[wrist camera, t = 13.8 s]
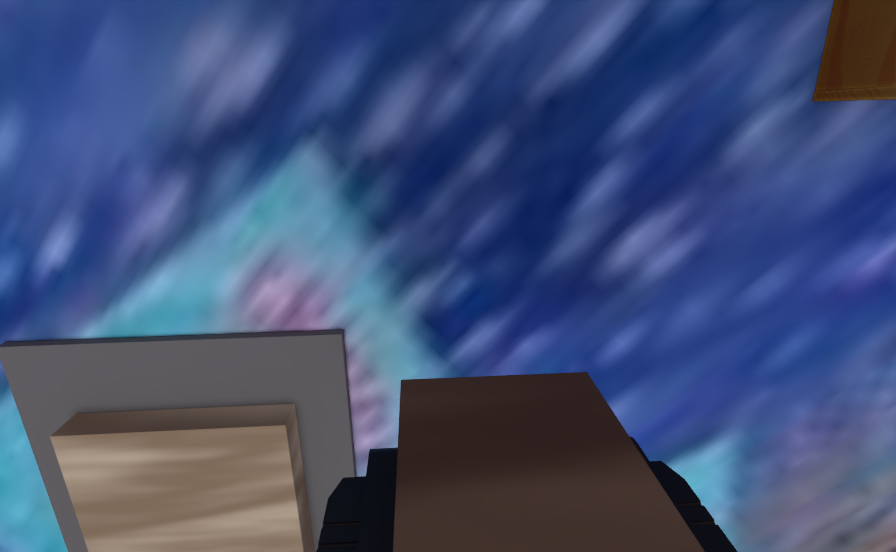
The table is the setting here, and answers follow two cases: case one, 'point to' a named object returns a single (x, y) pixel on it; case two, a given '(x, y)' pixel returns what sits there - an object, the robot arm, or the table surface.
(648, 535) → the block
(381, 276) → the table surface
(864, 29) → the spider toy trap
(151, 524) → the tile
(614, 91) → the table surface
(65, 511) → the mat
